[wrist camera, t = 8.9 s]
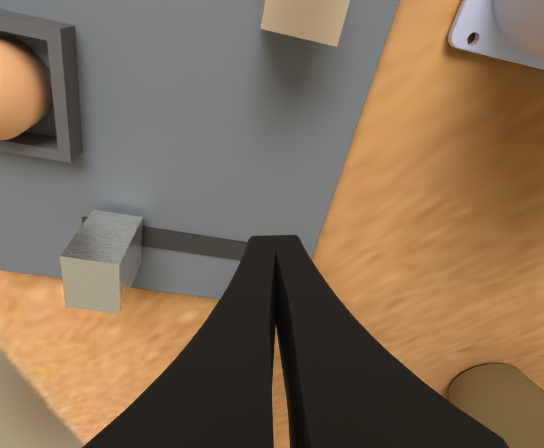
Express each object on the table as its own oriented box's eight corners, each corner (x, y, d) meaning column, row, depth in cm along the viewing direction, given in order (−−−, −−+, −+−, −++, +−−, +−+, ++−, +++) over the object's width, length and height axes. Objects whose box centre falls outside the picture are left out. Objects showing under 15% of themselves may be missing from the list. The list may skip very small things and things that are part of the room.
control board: (439, -158, 13) (477, -186, 11) (292, 292, 25) (295, 325, 23) (-131, -342, 11) (-237, -429, 9) (1, 252, 23) (-29, 283, 20)
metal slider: (142, 217, 19) (119, 264, 16) (141, 262, 21) (119, 313, 18) (93, 209, 19) (59, 256, 16) (96, 255, 20) (65, 307, 17)
